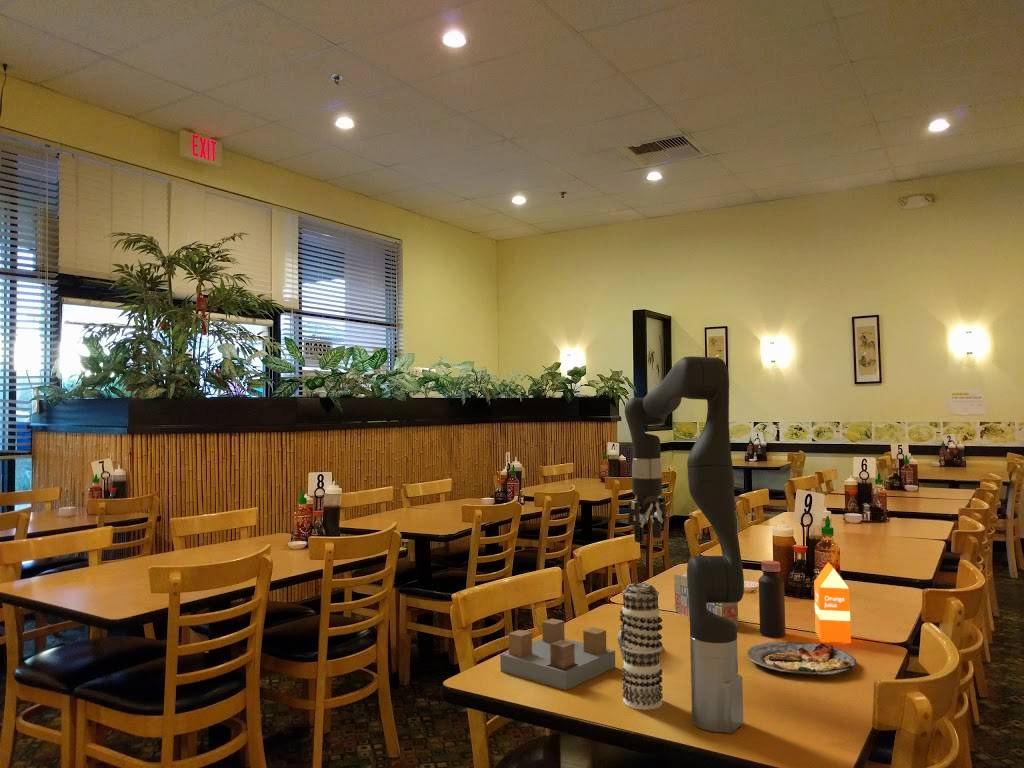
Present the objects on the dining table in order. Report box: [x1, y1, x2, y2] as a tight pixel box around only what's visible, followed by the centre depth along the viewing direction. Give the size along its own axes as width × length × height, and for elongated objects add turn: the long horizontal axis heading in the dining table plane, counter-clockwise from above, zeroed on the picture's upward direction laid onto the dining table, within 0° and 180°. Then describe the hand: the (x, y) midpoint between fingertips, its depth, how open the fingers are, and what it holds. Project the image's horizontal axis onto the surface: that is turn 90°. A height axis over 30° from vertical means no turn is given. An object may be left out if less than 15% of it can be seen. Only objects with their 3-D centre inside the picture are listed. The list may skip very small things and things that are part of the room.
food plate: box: [747, 640, 857, 676], centre depth 185 cm, size 25×23×4 cm
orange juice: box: [813, 561, 852, 644], centre depth 205 cm, size 8×9×20 cm
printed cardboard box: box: [673, 571, 739, 628], centre depth 225 cm, size 21×6×12 cm, turn 27°
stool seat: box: [499, 617, 616, 691], centre depth 183 cm, size 20×20×9 cm
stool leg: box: [550, 640, 575, 671], centre depth 174 cm, size 4×4×9 cm
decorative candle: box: [619, 582, 663, 711], centre depth 162 cm, size 9×9×25 cm
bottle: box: [758, 560, 786, 639], centre depth 209 cm, size 7×7×20 cm
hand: (648, 539), depth 190 cm, fingers open, 8 cm apart
